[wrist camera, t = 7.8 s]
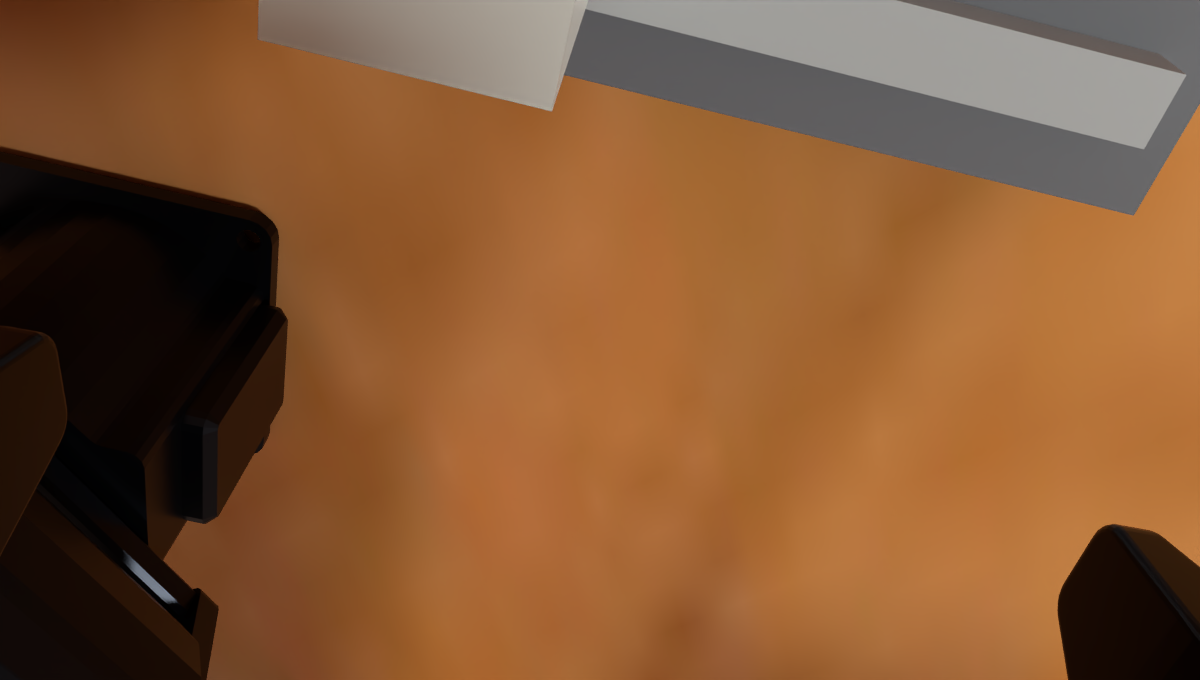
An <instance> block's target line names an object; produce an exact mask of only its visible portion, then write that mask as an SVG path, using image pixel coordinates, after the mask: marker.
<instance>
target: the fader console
mask: <svg viewBox="0 0 1200 680" xmlns="http://www.w3.org/2000/svg"><path fill="white" fill-rule="evenodd" d="M564 75H567V76H571V77H575V78H579V79H583V80H587V81H591V82H595V83H599V84H603V85H607V86H611V87H615V88H620V89H624V90H628V91H632V92H636V93H640V94H644V95H648V96H652V97H656V98H660V99H664V100H668V101H672V102H676V103H680V104H684V105H688V106H692V107H696V108H701V109H705V110H709V111H713V112H717V113H721V114H725V115H729V116H733V117H737V118H741V119H745V120H749V121H753V122H757V123H761V124H765V125H769V126H773V127H777V128H781V129H786V130H790V131H794V132H798V133H802V134H806V135H810V136H814V137H818V138H822V139H826V140H830V141H834V142H838V143H842V144H846V145H850V146H854V147H858V148H862V149H866V150H871V151H875V152H879V153H883V154H887V155H891V156H895V157H899V158H903V159H907V160H911V161H915V162H919V163H923V164H927V165H931V166H935V167H939V168H943V169H947V170H951V171H956V172H960V173H964V174H968V175H972V176H976V177H980V178H984V179H988V180H992V181H996V182H1000V183H1004V184H1008V185H1012V186H1016V187H1020V188H1024V189H1028V190H1032V191H1037V192H1041V193H1045V194H1049V195H1053V196H1057V197H1061V198H1065V199H1069V200H1073V201H1077V202H1081V203H1085V204H1089V205H1093V206H1097V207H1101V208H1105V209H1109V210H1113V211H1117V212H1122V213H1126V214H1130V215H1134V214H1135V212H1136V211H1137V209H1138V207H1139V205H1140V204H1141V202H1142V200H1143V199H1144V197H1145V195H1146V194H1147V192H1148V190H1149V189H1150V187H1151V185H1152V183H1153V182H1154V180H1155V178H1156V177H1157V175H1158V173H1159V172H1160V170H1161V168H1162V167H1163V165H1164V163H1165V161H1166V160H1167V158H1168V156H1169V155H1170V153H1171V151H1172V150H1173V148H1174V146H1175V145H1176V143H1177V141H1178V139H1179V138H1180V136H1181V134H1182V133H1183V131H1184V129H1185V128H1186V126H1187V124H1188V123H1189V121H1190V119H1191V117H1192V116H1193V114H1194V112H1195V111H1196V109H1197V107H1198V106H1199V104H1200V0H588V3H587V6H586V9H585V12H584V15H583V18H582V21H581V24H580V27H579V30H578V33H577V36H576V39H575V42H574V45H573V48H572V52H571V55H570V58H569V61H568V64H567V67H566V70H565V73H564Z"/></svg>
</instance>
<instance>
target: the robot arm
mask: <svg viewBox="0 0 1200 680" xmlns="http://www.w3.org/2000/svg"><path fill="white" fill-rule="evenodd" d="M244 230H250V231H252V232H254V233H255V234H256V235H257V236H258V237H259V238H260V242H261V243H255V242H253V241H250V240H249V239H248V238H247V237H246V236H245V234H244ZM278 246H279V235H278V229H277V228H276V226H275V224H274V223H273V221H271V220H270V219H269V218H268V217H267V216H266V215H263V214H261V213H259V212H256V211H252V210H248V209H243V208H239V207H235V206H230V205H226V204H222V203H218V202H213V201H209V200H205V199H201V198H196V197H192V196H188V195H183V194H179V193H175V192H171V191H166V190H162V189H158V188H154V187H149V186H145V185H141V184H136V183H132V182H128V181H124V180H119V179H115V178H111V177H107V176H102V175H98V174H94V173H90V172H85V171H81V170H77V169H72V168H68V167H64V166H60V165H55V164H51V163H47V162H43V161H38V160H34V159H30V158H25V157H21V156H17V155H13V154H8V153H4V152H0V680H206V679H207V673H208V667H209V661H210V656H211V650H212V644H213V639H214V633H215V627H216V621H217V616H218V610H219V609H218V606H217V605H216V604H215V603H214V602H213V601H212V600H211V599H210V598H209V597H208V596H207V595H206V594H205V593H204V592H203V591H202V590H201V589H199V588H196V589H192V588H191V587H190V586H189V585H188V584H187V583H186V582H185V581H184V580H183V579H182V578H181V577H180V576H178V575H177V574H176V573H175V572H174V571H173V570H172V569H171V568H170V567H169V566H168V565H167V564H166V563H165V562H164V561H163V559H164V558H165V556H166V554H167V553H168V551H169V549H170V548H171V546H172V544H173V543H174V541H175V540H176V538H177V536H178V535H179V533H180V531H181V530H182V528H183V526H184V525H185V523H186V521H187V520H188V521H193V522H198V523H202V524H206V523H208V522H210V521H211V520H213V519H214V518H216V517H218V516H219V514H220V512H221V511H222V509H223V507H224V505H225V504H226V502H227V500H228V498H229V497H230V495H231V493H232V491H233V490H234V488H235V486H236V484H237V483H238V481H239V479H240V477H241V476H242V474H243V472H244V470H245V469H246V467H247V465H248V463H249V462H250V460H251V458H252V456H253V455H254V453H257V452H259V451H260V450H261V449H262V448H263V446H264V444H265V442H266V441H267V439H268V436H269V433H270V425H271V423H272V421H273V420H274V418H275V416H276V414H277V413H278V411H279V409H280V407H281V406H282V403H283V397H284V379H285V361H286V344H287V326H288V319H287V318H286V316H285V314H284V313H283V311H282V309H281V308H279V307H276V289H277V267H278ZM1058 619H1059V626H1060V632H1061V638H1062V644H1063V651H1064V657H1065V663H1066V669H1067V676H1068V680H1200V567H1199V566H1198V565H1197V564H1195V563H1194V562H1193V561H1192V560H1190V559H1189V558H1188V557H1187V556H1186V555H1184V554H1183V553H1182V552H1181V551H1179V550H1178V549H1177V548H1176V547H1174V546H1173V545H1172V544H1171V543H1169V542H1168V541H1167V540H1166V539H1165V538H1163V537H1162V536H1161V535H1159V534H1157V533H1155V532H1153V531H1150V530H1145V529H1139V528H1134V527H1128V526H1122V525H1117V524H1111V525H1106V526H1104V527H1102V528H1101V529H1099V530H1098V531H1097V532H1096V534H1095V535H1094V536H1093V538H1092V539H1091V541H1090V543H1089V544H1088V546H1087V547H1086V549H1085V551H1084V552H1083V554H1082V555H1081V557H1080V559H1079V560H1078V562H1077V563H1076V565H1075V567H1074V568H1073V570H1072V571H1071V573H1070V575H1069V576H1068V578H1067V579H1066V581H1065V583H1064V584H1063V586H1062V589H1061V592H1060V595H1059V599H1058Z"/></svg>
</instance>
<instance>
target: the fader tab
mask: <svg viewBox="0 0 1200 680" xmlns="http://www.w3.org/2000/svg"><path fill="white" fill-rule="evenodd" d="M587 3H588V0H259V14H258V40H262V41H266V42H270V43H274V44H279V45H283V46H287V47H291V48H295V49H299V50H303V51H307V52H311V53H315V54H319V55H323V56H328V57H332V58H336V59H340V60H344V61H348V62H352V63H356V64H360V65H364V66H368V67H373V68H377V69H381V70H385V71H389V72H393V73H397V74H401V75H405V76H409V77H413V78H418V79H422V80H426V81H430V82H434V83H438V84H442V85H446V86H450V87H454V88H458V89H462V90H467V91H471V92H475V93H479V94H483V95H487V96H491V97H495V98H499V99H503V100H507V101H512V102H516V103H520V104H524V105H528V106H532V107H536V108H540V109H544V110H548V111H552V109H553V106H554V103H555V100H556V97H557V94H558V91H559V88H560V85H561V82H562V79H563V76H564V73H565V70H566V67H567V64H568V61H569V58H570V55H571V52H572V48H573V45H574V42H575V39H576V36H577V33H578V30H579V27H580V24H581V21H582V18H583V15H584V12H585V9H586V6H587Z"/></svg>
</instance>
